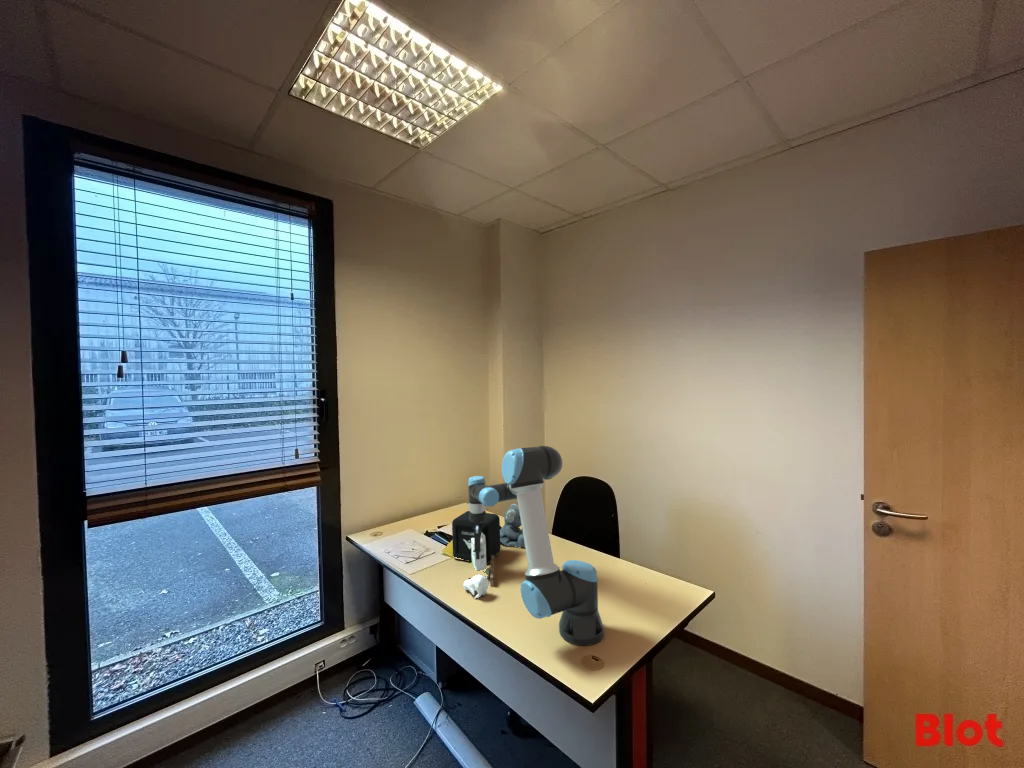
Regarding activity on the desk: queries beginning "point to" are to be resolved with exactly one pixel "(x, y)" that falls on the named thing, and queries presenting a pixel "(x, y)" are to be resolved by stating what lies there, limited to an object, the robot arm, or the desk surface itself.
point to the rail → (492, 570)
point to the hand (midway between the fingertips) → (478, 560)
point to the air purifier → (465, 532)
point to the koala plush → (512, 528)
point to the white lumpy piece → (477, 585)
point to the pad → (487, 572)
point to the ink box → (483, 553)
